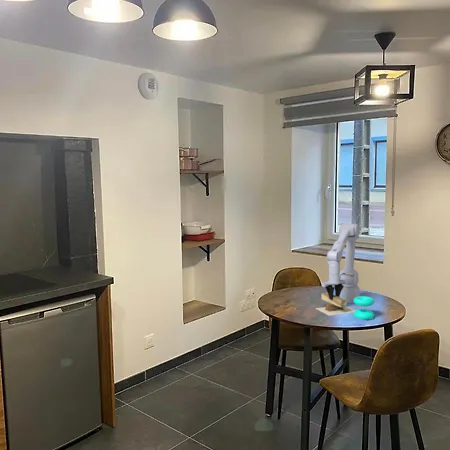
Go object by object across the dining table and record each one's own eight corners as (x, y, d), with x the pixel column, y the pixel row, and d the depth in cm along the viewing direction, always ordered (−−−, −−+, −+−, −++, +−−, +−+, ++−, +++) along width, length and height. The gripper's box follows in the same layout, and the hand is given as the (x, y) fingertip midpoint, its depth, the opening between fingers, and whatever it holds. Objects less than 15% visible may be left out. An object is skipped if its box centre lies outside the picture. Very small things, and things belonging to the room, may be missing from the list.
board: (344, 305, 254) (344, 304, 254) (359, 312, 240) (359, 311, 240) (315, 309, 248) (315, 308, 248) (328, 316, 235) (328, 315, 235)
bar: (326, 298, 253) (326, 292, 253) (346, 306, 239) (346, 299, 238) (321, 299, 251) (321, 293, 251) (340, 307, 237) (340, 300, 237)
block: (339, 307, 248) (339, 301, 248) (344, 309, 244) (344, 303, 244) (324, 309, 246) (324, 303, 245) (328, 311, 241) (328, 305, 241)
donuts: (372, 295, 235) (375, 300, 225) (372, 315, 236) (375, 321, 226) (352, 295, 237) (354, 300, 227) (352, 314, 238) (354, 320, 228)
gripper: (340, 270, 250) (340, 295, 251) (318, 273, 243) (318, 298, 245) (349, 272, 243) (349, 298, 245) (326, 275, 237) (326, 301, 238)
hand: (334, 298), depth 244 cm, fingers closed on bar, 3 cm apart
